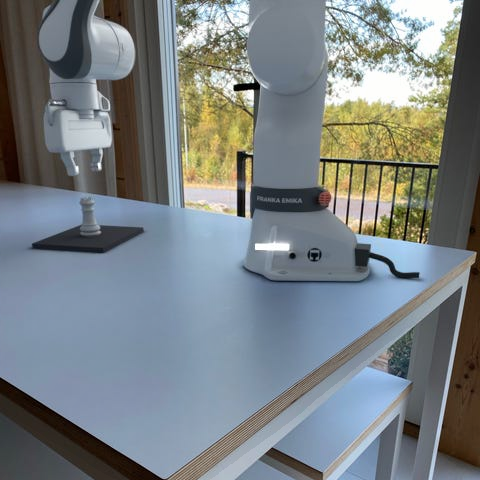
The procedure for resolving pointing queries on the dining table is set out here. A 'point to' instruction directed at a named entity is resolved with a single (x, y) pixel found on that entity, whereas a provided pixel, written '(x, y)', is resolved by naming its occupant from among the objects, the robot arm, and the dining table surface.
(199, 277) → the dining table surface
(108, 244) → the mat
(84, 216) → the rook chess piece
